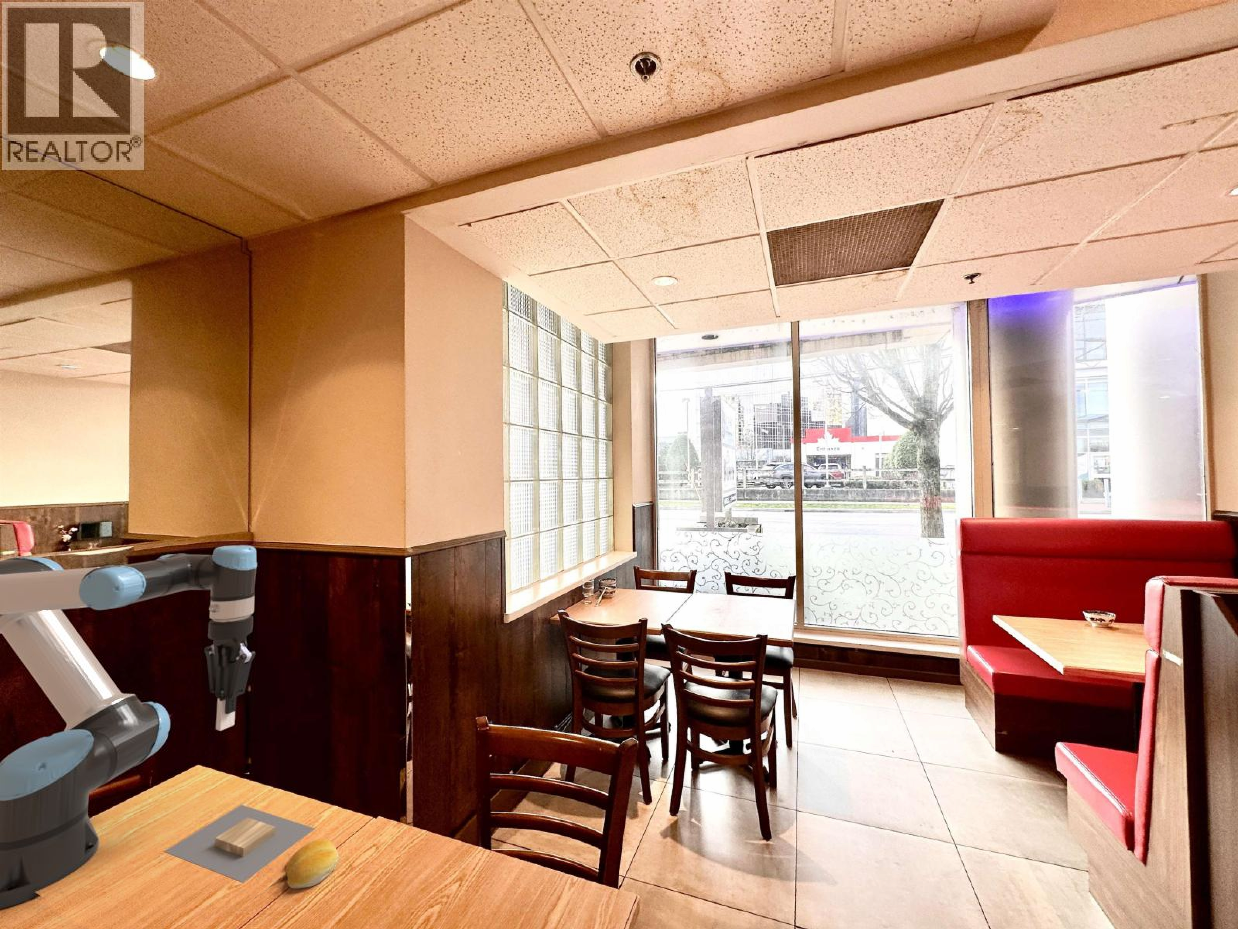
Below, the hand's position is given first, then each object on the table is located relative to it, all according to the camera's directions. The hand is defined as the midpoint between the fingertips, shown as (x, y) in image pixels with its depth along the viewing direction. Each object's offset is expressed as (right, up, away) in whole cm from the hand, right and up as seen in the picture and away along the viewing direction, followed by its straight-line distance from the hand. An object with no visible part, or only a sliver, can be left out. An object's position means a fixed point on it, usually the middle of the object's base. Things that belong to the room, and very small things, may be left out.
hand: (225, 727), depth 101 cm
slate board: (+9, -20, -7) cm, 23 cm away
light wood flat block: (+7, -18, -6) cm, 20 cm away
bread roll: (+27, -20, -13) cm, 36 cm away
